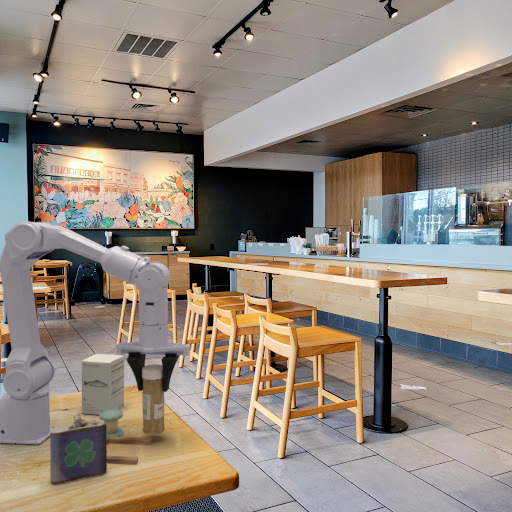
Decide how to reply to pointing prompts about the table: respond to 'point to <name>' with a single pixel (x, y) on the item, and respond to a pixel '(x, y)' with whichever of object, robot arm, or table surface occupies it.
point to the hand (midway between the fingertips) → (153, 389)
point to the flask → (78, 451)
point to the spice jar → (153, 399)
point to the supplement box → (102, 383)
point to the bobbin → (112, 422)
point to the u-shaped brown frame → (126, 441)
